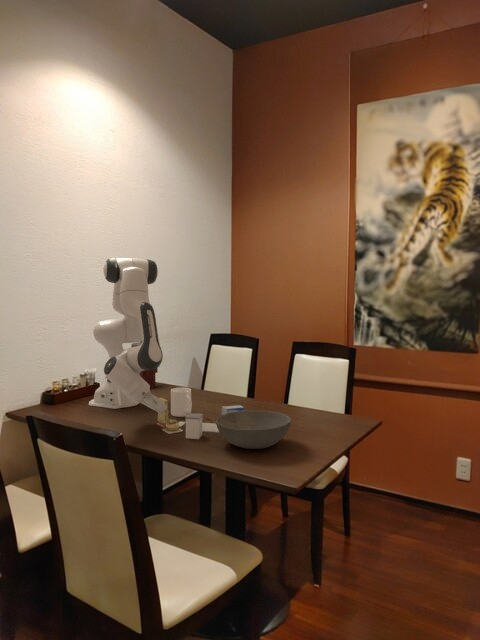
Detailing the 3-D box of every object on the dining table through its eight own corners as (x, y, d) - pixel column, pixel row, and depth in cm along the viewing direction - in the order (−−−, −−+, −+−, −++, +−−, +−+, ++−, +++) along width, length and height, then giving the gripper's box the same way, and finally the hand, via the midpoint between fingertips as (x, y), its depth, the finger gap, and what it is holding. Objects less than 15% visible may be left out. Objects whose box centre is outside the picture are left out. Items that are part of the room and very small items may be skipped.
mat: (193, 431, 198) (193, 430, 198) (199, 423, 208) (199, 422, 208) (218, 432, 196) (218, 431, 196) (224, 425, 206) (224, 424, 206)
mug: (182, 420, 212) (182, 394, 211) (166, 413, 221) (166, 389, 220) (199, 416, 218) (199, 391, 217) (183, 410, 227) (183, 386, 226)
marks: (146, 432, 196) (146, 431, 196) (160, 420, 211) (160, 420, 211) (179, 434, 194) (179, 433, 194) (191, 422, 209) (191, 422, 209)
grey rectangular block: (185, 438, 190) (185, 417, 189) (189, 433, 195) (189, 413, 194) (199, 439, 189) (199, 417, 188) (202, 434, 194) (203, 413, 193)
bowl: (233, 463, 166) (233, 433, 165) (205, 438, 190) (205, 411, 189) (304, 452, 176) (305, 424, 175) (269, 430, 200) (269, 405, 199)
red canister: (159, 386, 271) (159, 334, 269) (141, 390, 263) (141, 335, 261) (149, 384, 278) (149, 332, 275) (131, 387, 270) (131, 334, 267)
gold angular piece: (181, 429, 198) (181, 404, 197) (169, 431, 195) (169, 406, 194) (165, 421, 209) (165, 397, 208) (154, 422, 206) (154, 398, 205)
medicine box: (225, 431, 198) (226, 408, 197) (220, 427, 202) (221, 405, 201) (243, 429, 201) (245, 407, 200) (238, 425, 205) (239, 404, 204)
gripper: (155, 389, 189) (179, 412, 195) (133, 379, 205) (155, 400, 212) (144, 403, 187) (168, 425, 193) (122, 391, 203) (145, 412, 210)
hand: (161, 412), depth 203 cm, fingers closed, pressing on gold angular piece
